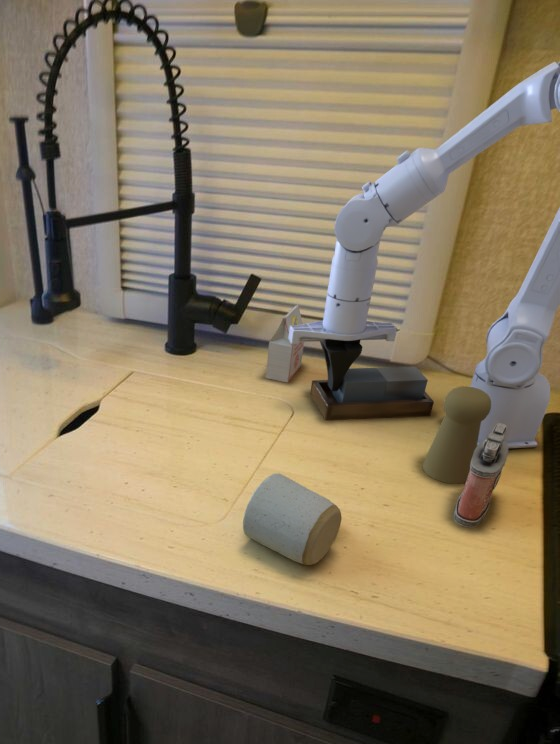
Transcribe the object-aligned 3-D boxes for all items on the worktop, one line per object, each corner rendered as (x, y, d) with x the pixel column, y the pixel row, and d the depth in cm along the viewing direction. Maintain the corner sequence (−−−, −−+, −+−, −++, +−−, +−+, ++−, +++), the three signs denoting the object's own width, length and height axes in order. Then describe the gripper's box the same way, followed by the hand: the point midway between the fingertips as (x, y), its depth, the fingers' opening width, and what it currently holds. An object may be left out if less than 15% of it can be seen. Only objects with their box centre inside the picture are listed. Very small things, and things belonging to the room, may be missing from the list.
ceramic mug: (304, 582, 67) (315, 522, 63) (238, 548, 71) (244, 489, 67) (353, 534, 74) (366, 476, 69) (290, 505, 78) (299, 449, 73)
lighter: (479, 531, 74) (507, 455, 68) (448, 521, 76) (473, 446, 70) (493, 496, 80) (520, 423, 74) (464, 487, 81) (489, 415, 75)
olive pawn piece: (475, 486, 81) (503, 406, 75) (424, 480, 82) (447, 400, 76) (468, 460, 86) (493, 382, 80) (420, 454, 87) (441, 377, 80)
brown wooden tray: (408, 390, 102) (415, 361, 99) (430, 415, 96) (438, 385, 93) (309, 394, 101) (314, 364, 98) (325, 420, 94) (330, 389, 91)
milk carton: (265, 377, 105) (271, 316, 99) (279, 361, 110) (286, 302, 104) (287, 382, 104) (295, 320, 98) (300, 366, 109) (309, 306, 103)
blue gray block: (370, 392, 100) (376, 367, 97) (381, 406, 96) (387, 381, 94) (332, 393, 99) (336, 368, 97) (341, 407, 95) (346, 382, 93)
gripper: (390, 283, 92) (371, 374, 100) (288, 285, 90) (277, 377, 98) (410, 301, 86) (388, 395, 94) (301, 303, 85) (289, 399, 93)
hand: (332, 388), depth 96 cm, fingers closed
